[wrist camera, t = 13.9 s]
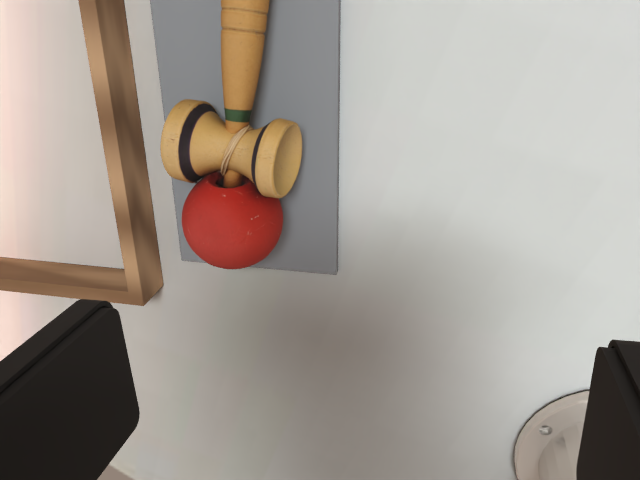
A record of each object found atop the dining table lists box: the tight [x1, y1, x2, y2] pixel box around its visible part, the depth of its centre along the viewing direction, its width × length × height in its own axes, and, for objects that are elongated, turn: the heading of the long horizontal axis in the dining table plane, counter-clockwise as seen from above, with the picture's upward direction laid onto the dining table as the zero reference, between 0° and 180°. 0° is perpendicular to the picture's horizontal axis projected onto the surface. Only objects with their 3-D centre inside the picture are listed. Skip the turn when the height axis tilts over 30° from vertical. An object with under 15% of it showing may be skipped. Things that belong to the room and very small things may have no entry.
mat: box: [150, 0, 340, 275], centre depth 34 cm, size 20×11×1 cm, turn 0°
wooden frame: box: [0, 0, 163, 306], centre depth 36 cm, size 25×17×3 cm
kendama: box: [161, 0, 302, 269], centre depth 31 cm, size 8×6×18 cm
